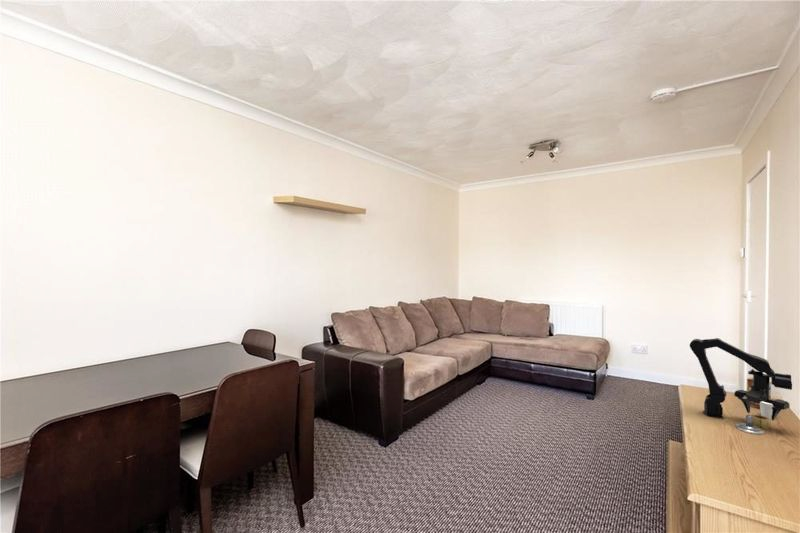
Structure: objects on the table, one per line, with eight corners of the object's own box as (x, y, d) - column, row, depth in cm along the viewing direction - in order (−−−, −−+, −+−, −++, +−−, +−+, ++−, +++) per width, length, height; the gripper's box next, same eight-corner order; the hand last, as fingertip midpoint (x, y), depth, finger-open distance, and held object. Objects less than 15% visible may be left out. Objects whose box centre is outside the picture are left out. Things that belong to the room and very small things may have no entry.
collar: (748, 423, 181) (748, 415, 181) (755, 421, 184) (756, 413, 184) (765, 429, 176) (765, 421, 176) (772, 427, 178) (772, 418, 178)
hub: (742, 432, 172) (742, 418, 172) (730, 423, 182) (730, 410, 182) (769, 435, 169) (769, 421, 169) (755, 426, 179) (755, 413, 179)
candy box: (746, 405, 205) (746, 378, 204) (749, 404, 207) (749, 377, 206) (767, 411, 197) (768, 382, 197) (771, 409, 199) (771, 381, 199)
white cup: (769, 413, 194) (769, 400, 194) (781, 419, 187) (782, 405, 187) (755, 412, 195) (755, 399, 195) (767, 418, 188) (767, 404, 188)
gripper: (728, 381, 185) (727, 411, 185) (778, 393, 168) (777, 427, 168) (740, 378, 189) (740, 408, 190) (790, 390, 172) (789, 423, 172)
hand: (760, 416), depth 180 cm, fingers open, 9 cm apart
